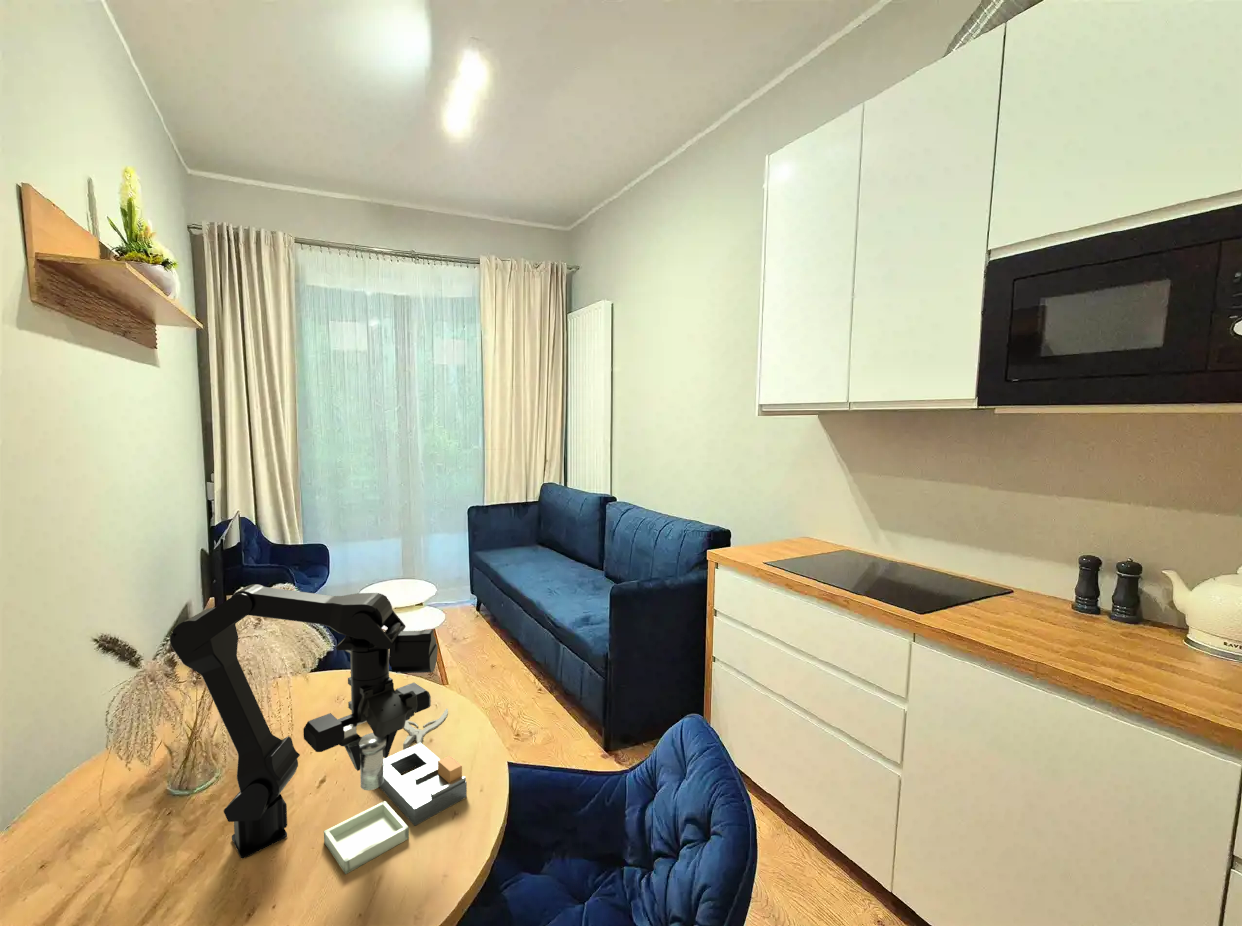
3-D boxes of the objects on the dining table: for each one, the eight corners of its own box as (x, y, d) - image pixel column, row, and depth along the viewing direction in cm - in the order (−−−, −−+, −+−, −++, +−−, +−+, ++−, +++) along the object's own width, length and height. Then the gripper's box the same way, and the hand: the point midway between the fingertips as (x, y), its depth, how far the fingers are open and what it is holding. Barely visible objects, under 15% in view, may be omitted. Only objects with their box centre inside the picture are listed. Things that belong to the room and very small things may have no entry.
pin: (364, 796, 88) (363, 752, 88) (352, 783, 91) (351, 740, 91) (392, 782, 92) (391, 740, 91) (379, 770, 95) (378, 729, 94)
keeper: (450, 784, 100) (450, 771, 100) (438, 773, 103) (437, 760, 103) (462, 778, 101) (461, 765, 101) (449, 767, 104) (449, 755, 104)
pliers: (449, 705, 131) (435, 742, 116) (449, 711, 131) (435, 749, 116) (405, 707, 130) (386, 744, 115) (405, 713, 130) (387, 751, 115)
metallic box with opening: (414, 825, 94) (414, 805, 93) (371, 779, 106) (371, 760, 105) (466, 797, 101) (466, 778, 101) (420, 756, 113) (420, 739, 113)
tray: (345, 874, 84) (345, 862, 83) (324, 842, 90) (323, 831, 90) (408, 838, 91) (408, 827, 91) (385, 811, 97) (384, 800, 97)
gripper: (330, 712, 78) (332, 816, 79) (447, 669, 92) (448, 758, 93) (301, 686, 85) (303, 782, 86) (414, 650, 99) (414, 732, 100)
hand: (371, 763), depth 91 cm, fingers closed on pin, 4 cm apart
